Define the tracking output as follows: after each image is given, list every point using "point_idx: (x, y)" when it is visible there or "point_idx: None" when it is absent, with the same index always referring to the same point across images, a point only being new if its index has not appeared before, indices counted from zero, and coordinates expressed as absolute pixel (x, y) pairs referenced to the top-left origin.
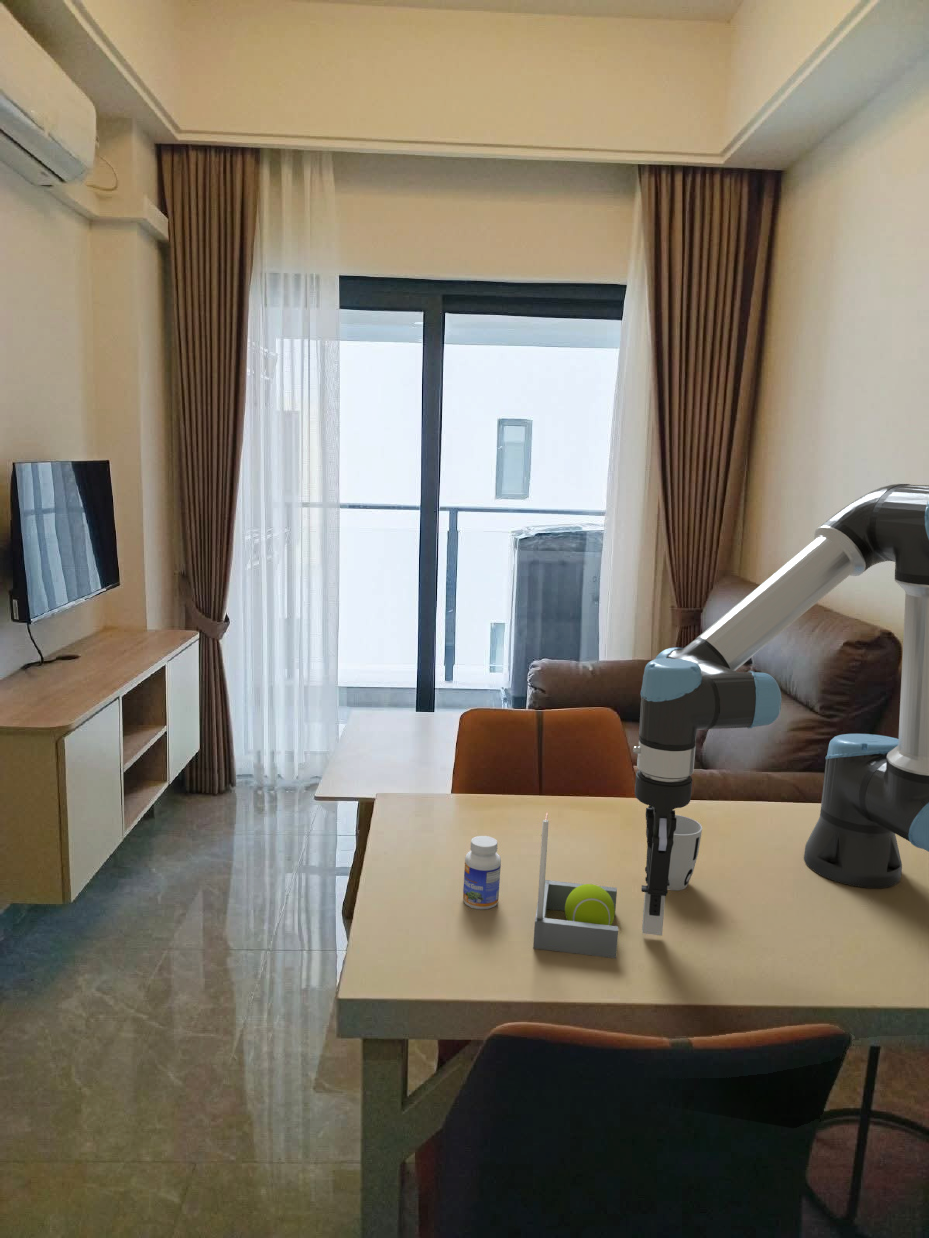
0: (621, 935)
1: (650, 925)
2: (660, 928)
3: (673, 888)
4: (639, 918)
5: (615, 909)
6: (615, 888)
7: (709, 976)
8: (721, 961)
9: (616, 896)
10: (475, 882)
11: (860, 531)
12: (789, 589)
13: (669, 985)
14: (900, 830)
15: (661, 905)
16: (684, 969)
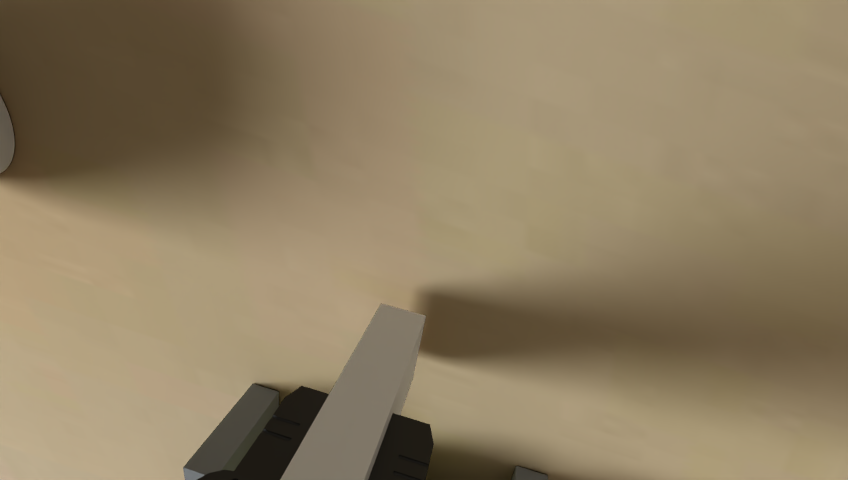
0: None
1: (407, 384)
2: (417, 343)
3: (1, 120)
4: (271, 319)
5: (263, 413)
6: (190, 472)
7: (747, 186)
8: (612, 70)
9: (229, 457)
10: None
11: None
12: None
13: (773, 380)
14: None
15: (380, 445)
16: (658, 281)
